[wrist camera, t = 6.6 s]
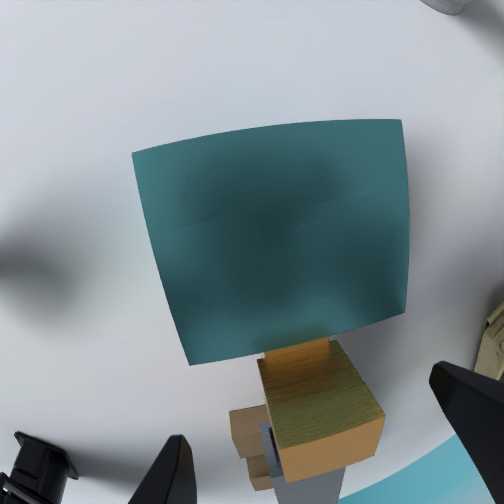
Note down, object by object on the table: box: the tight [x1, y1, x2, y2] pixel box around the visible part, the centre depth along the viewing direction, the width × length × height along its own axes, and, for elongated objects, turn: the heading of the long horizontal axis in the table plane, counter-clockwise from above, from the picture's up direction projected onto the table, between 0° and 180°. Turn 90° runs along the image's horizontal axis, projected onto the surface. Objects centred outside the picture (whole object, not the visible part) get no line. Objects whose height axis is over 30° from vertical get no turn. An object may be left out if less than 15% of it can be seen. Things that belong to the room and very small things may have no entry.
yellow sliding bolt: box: [257, 336, 386, 483], centre depth 11 cm, size 19×3×6 cm, turn 9°
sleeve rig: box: [132, 119, 409, 504], centre depth 14 cm, size 28×8×7 cm, turn 9°
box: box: [474, 300, 504, 382], centre depth 20 cm, size 8×22×5 cm, turn 32°
